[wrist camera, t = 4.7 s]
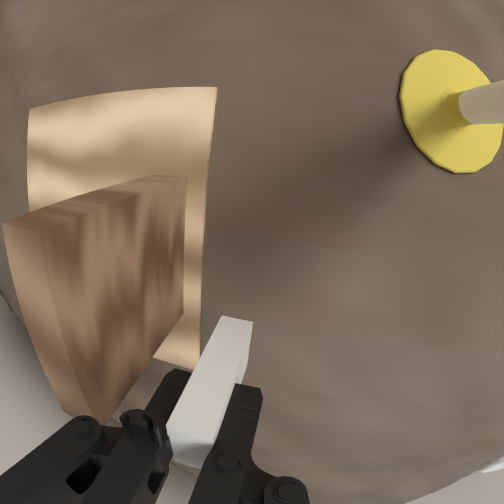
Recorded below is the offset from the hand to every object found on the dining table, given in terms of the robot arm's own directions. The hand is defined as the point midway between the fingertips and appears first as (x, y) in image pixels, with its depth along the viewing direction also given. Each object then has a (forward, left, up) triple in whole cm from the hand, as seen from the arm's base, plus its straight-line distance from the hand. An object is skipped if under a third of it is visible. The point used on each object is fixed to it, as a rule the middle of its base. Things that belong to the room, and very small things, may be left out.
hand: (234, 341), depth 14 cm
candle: (-15, +13, -10) cm, 22 cm away
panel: (0, -8, -9) cm, 12 cm away
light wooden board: (0, -16, -10) cm, 19 cm away
